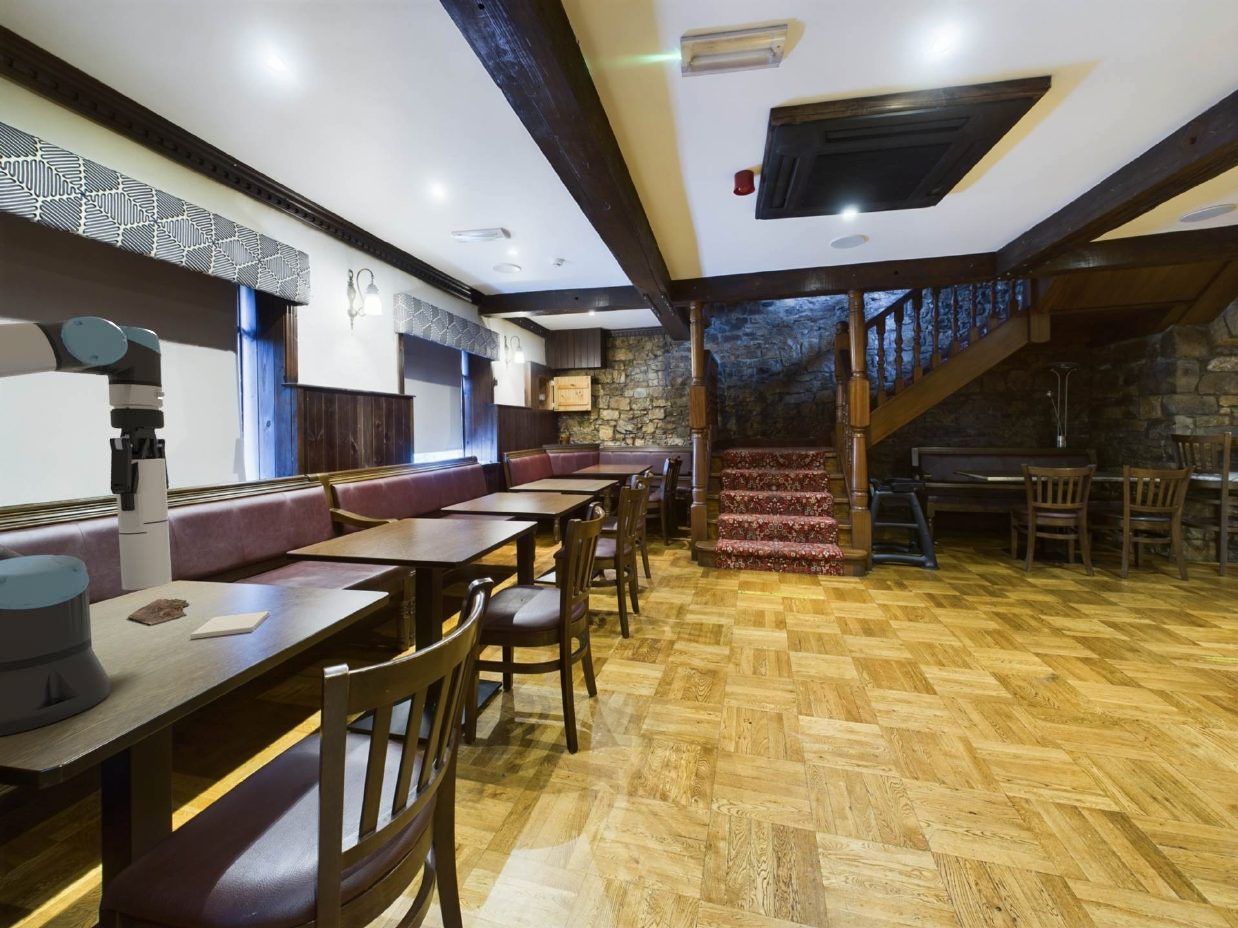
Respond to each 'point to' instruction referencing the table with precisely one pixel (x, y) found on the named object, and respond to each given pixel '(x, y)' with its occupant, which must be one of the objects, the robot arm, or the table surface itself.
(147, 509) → the cylindrical container
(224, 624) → the ceramic tile
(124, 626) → the table surface
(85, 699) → the robot arm
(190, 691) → the table surface
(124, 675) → the table surface
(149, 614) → the brown relief tablet
